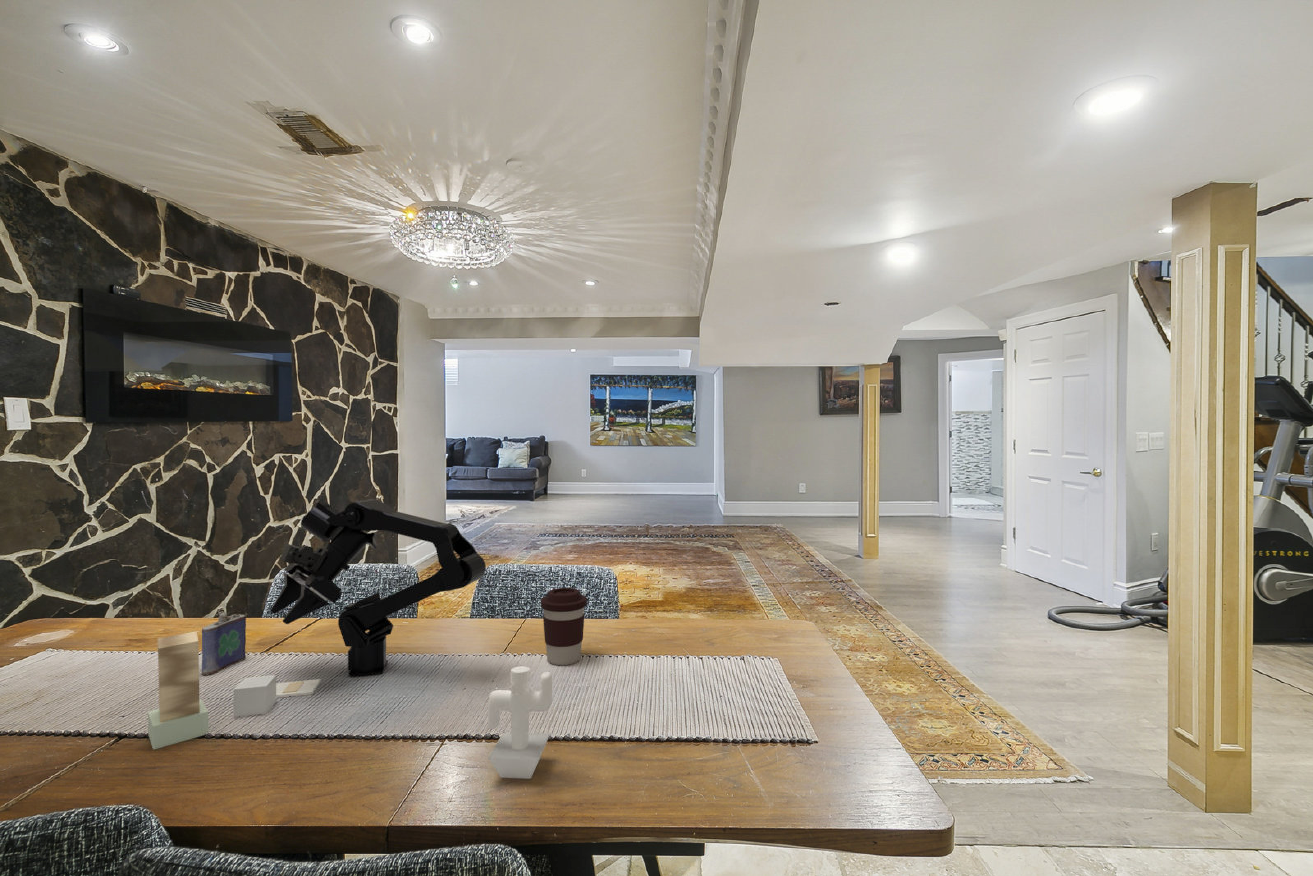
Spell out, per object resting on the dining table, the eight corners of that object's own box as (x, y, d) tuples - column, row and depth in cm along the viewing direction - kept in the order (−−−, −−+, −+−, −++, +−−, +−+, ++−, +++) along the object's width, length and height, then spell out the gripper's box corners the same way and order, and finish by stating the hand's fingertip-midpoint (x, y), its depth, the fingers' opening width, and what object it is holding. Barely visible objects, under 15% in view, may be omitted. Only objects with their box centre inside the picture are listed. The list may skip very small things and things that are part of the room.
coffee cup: (565, 672, 124) (565, 600, 123) (531, 662, 129) (531, 592, 129) (596, 657, 132) (596, 589, 132) (562, 648, 137) (562, 583, 137)
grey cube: (276, 702, 110) (276, 675, 110) (266, 714, 105) (266, 686, 105) (245, 705, 109) (245, 678, 109) (233, 718, 104) (233, 689, 104)
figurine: (496, 755, 92) (496, 658, 92) (557, 757, 91) (557, 659, 91) (480, 783, 85) (480, 677, 85) (545, 785, 84) (545, 679, 84)
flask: (209, 676, 121) (209, 619, 121) (196, 675, 122) (195, 619, 122) (249, 658, 131) (249, 605, 131) (236, 657, 132) (236, 605, 132)
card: (320, 681, 119) (320, 678, 119) (312, 694, 113) (312, 690, 113) (275, 686, 117) (275, 682, 117) (264, 699, 111) (264, 695, 111)
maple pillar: (197, 700, 102) (196, 631, 101) (199, 712, 98) (198, 641, 97) (159, 709, 98) (157, 638, 98) (160, 722, 95) (158, 648, 94)
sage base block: (200, 721, 103) (200, 698, 103) (208, 735, 98) (208, 711, 98) (148, 735, 98) (147, 711, 98) (153, 751, 93) (153, 726, 93)
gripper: (295, 523, 126) (232, 585, 119) (323, 534, 113) (254, 604, 105) (335, 555, 132) (278, 615, 124) (366, 569, 119) (304, 637, 111)
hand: (278, 617), depth 116 cm, fingers open, 9 cm apart
